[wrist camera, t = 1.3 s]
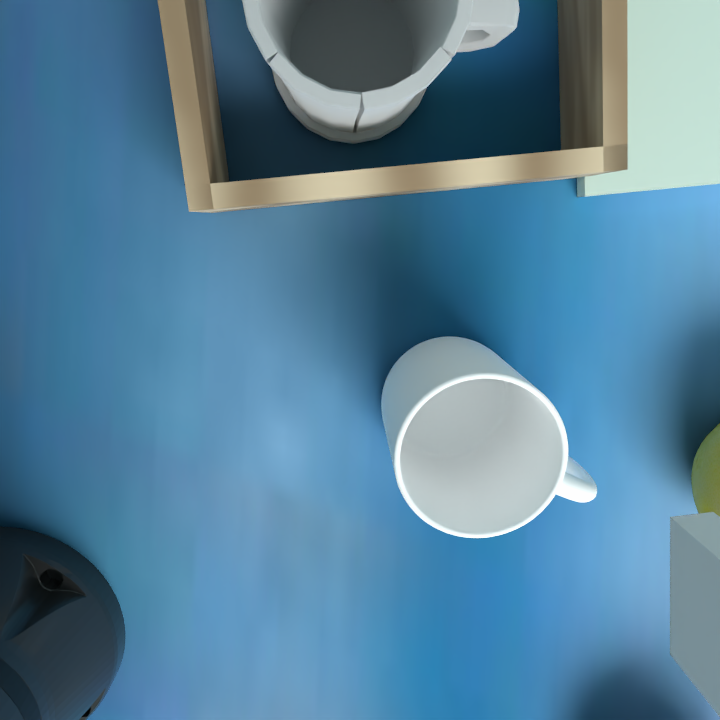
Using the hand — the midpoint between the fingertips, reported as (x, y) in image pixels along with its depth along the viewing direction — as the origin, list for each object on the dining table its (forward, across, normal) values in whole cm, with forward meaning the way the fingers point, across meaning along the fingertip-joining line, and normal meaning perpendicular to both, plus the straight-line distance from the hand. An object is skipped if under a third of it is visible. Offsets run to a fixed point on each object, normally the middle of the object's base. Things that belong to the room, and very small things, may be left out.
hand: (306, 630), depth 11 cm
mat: (+28, +21, +12) cm, 37 cm away
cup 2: (+28, +9, -6) cm, 30 cm away
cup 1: (+28, +4, +16) cm, 33 cm away
